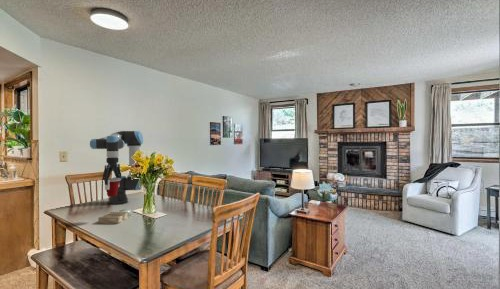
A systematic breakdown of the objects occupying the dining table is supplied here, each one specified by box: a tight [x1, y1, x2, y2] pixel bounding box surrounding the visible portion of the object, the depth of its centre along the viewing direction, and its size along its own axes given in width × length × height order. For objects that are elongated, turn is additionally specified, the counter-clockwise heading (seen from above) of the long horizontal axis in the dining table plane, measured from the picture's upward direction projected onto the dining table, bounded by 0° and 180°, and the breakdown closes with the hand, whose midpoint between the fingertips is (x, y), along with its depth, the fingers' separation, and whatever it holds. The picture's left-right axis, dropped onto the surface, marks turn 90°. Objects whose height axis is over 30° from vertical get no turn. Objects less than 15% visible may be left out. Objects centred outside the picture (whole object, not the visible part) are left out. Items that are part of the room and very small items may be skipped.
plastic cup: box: [103, 177, 121, 197], centre depth 178 cm, size 11×11×12 cm
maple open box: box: [97, 211, 130, 225], centre depth 177 cm, size 14×14×4 cm
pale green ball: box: [118, 208, 132, 217], centre depth 189 cm, size 8×8×4 cm
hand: (112, 188), depth 178 cm, fingers closed on plastic cup, 11 cm apart
